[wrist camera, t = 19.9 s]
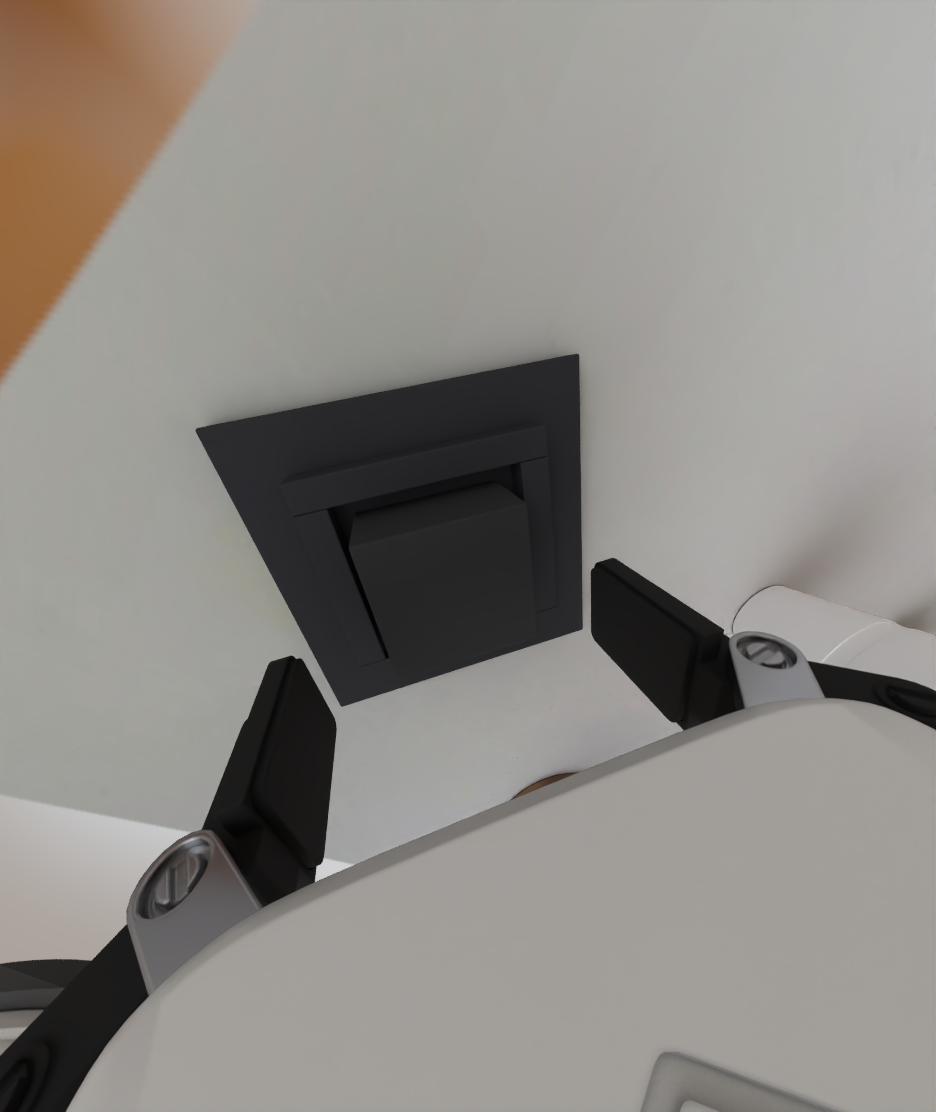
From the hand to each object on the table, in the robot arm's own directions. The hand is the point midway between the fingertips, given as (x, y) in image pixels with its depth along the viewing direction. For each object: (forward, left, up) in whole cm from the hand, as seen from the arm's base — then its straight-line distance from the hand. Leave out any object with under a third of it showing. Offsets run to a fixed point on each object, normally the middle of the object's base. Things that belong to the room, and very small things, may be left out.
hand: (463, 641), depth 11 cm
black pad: (0, 0, -6) cm, 5 cm away
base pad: (0, 0, -6) cm, 6 cm away
